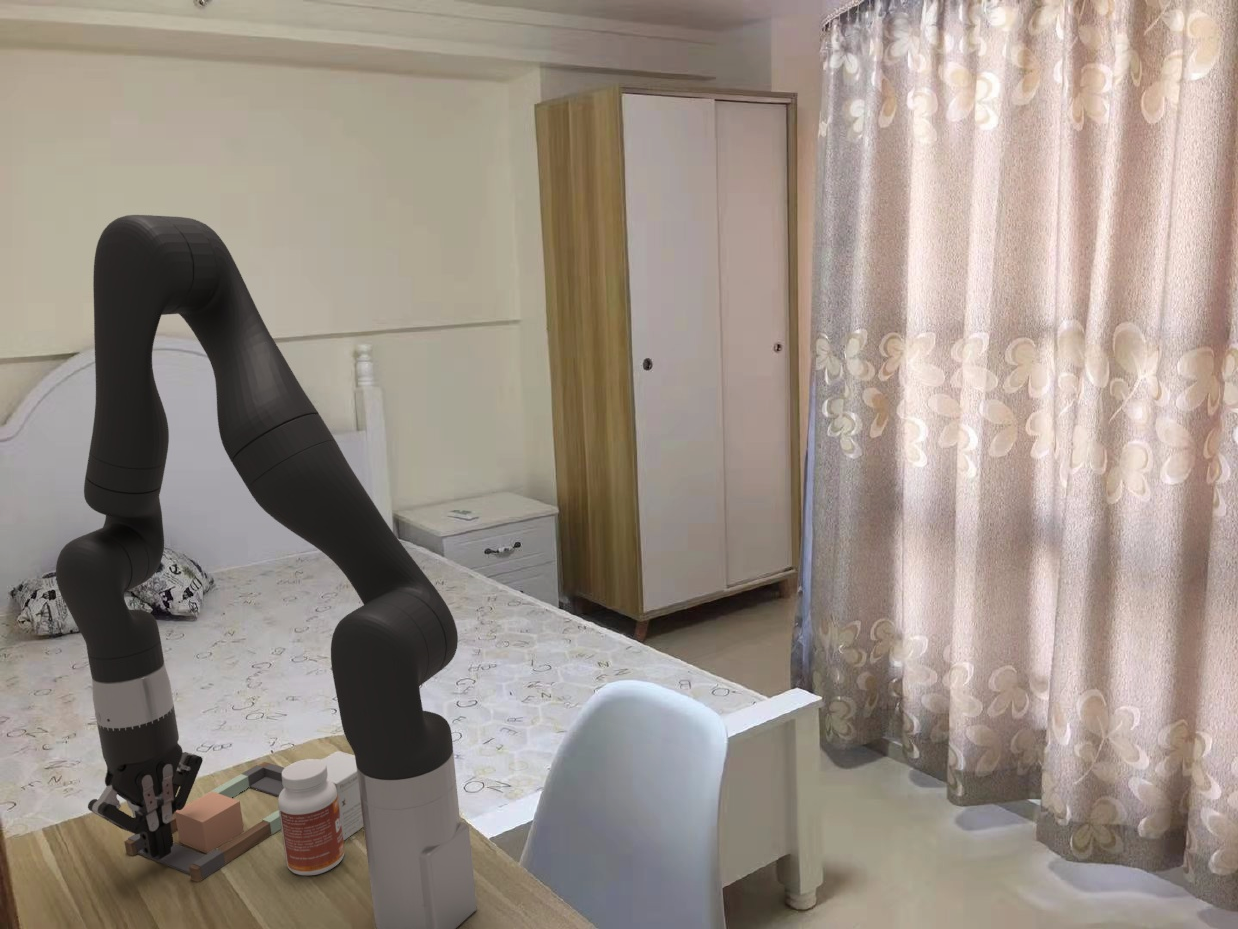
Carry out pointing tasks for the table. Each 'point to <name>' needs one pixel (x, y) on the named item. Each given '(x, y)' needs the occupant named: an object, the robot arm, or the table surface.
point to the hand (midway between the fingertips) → (159, 855)
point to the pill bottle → (310, 818)
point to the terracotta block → (209, 822)
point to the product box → (346, 790)
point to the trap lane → (202, 865)
